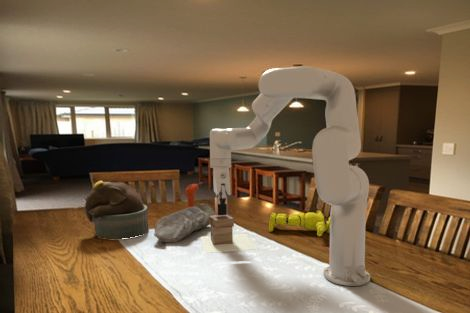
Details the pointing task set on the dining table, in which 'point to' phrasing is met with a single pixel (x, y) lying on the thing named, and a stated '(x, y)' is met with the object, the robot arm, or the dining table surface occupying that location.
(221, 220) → the slab top
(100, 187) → the brown blob in bowl
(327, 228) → the toy
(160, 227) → the decorative stone
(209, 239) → the board
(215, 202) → the cylinder
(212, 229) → the slab mid
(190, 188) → the toy drill
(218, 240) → the slab bottom
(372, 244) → the dining table surface
